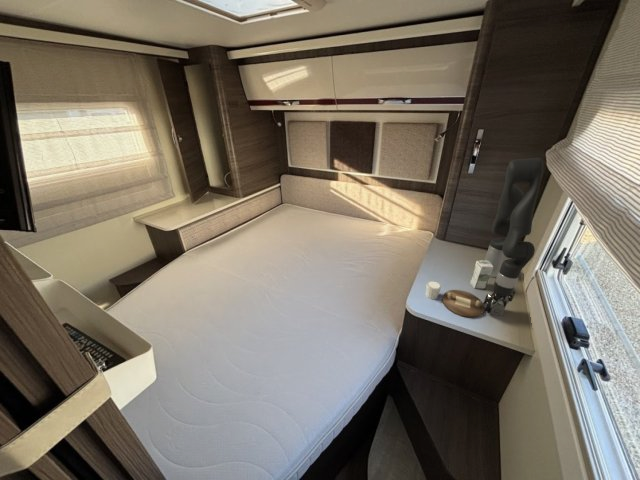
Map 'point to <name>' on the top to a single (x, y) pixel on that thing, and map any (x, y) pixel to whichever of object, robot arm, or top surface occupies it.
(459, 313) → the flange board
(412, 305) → the top surface
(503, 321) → the top surface
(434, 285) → the white cup
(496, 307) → the dice cube
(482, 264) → the syrup box
